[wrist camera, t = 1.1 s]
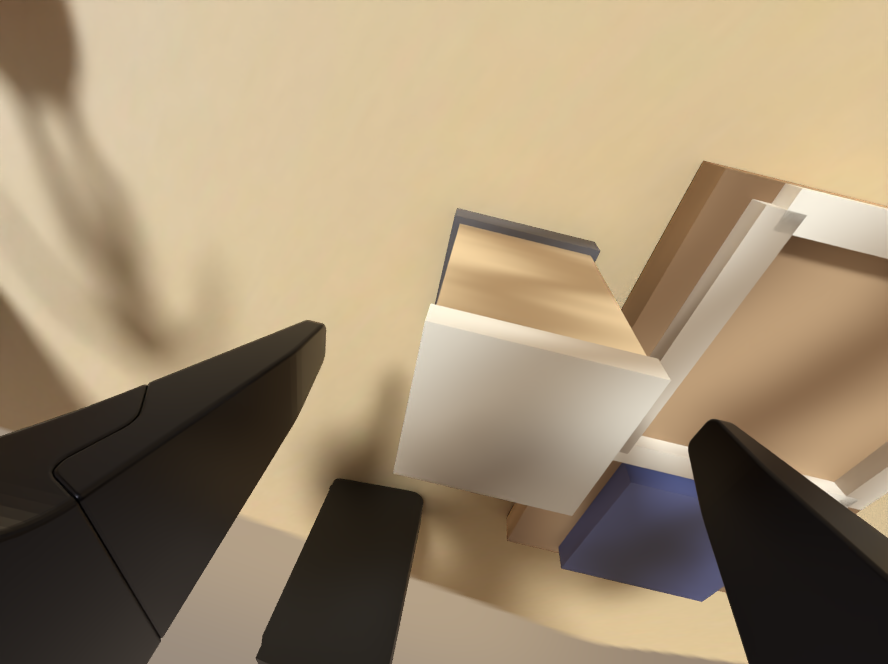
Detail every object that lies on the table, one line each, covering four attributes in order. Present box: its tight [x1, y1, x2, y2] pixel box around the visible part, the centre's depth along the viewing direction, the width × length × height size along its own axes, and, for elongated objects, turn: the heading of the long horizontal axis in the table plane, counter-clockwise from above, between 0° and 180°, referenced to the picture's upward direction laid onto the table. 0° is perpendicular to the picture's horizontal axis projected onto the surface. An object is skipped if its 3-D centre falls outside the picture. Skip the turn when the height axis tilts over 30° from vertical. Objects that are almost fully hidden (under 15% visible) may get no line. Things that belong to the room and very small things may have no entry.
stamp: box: [393, 208, 671, 516], centre depth 10 cm, size 4×4×7 cm
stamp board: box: [507, 161, 888, 602], centre depth 14 cm, size 12×18×2 cm, turn 168°
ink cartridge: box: [256, 479, 423, 664], centre depth 17 cm, size 5×2×8 cm, turn 83°
